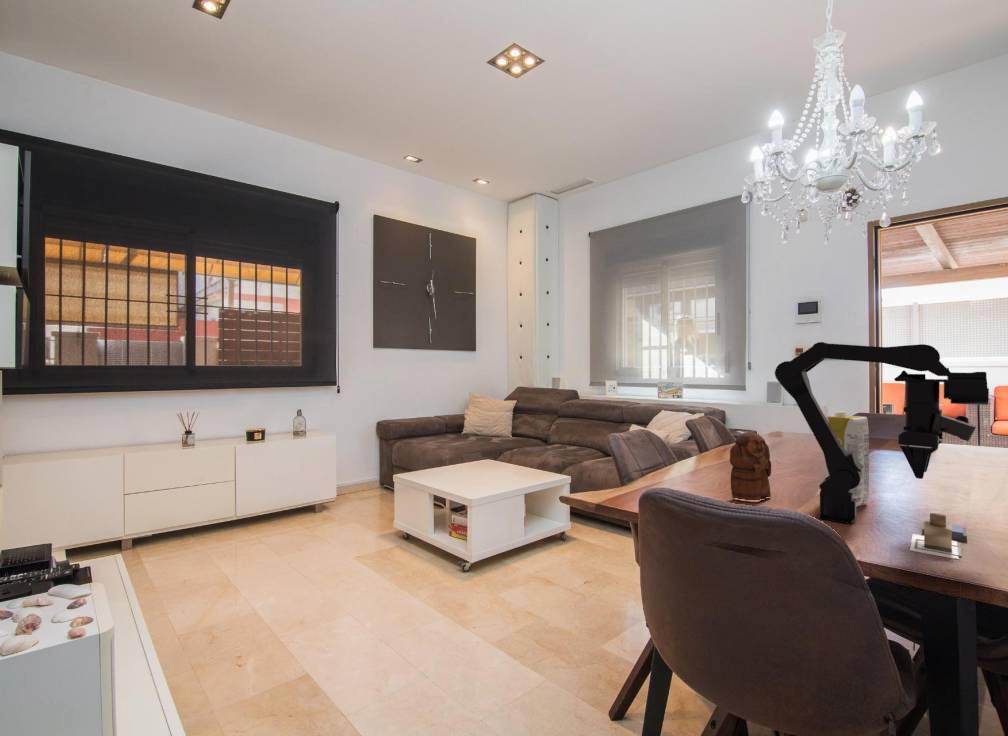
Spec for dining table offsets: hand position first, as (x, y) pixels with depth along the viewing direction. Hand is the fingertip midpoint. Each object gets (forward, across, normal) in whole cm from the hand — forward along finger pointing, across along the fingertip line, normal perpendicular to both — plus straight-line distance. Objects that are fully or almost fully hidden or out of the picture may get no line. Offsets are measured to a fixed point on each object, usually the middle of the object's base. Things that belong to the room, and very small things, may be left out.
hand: (921, 475), depth 108 cm
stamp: (+12, -10, -3) cm, 16 cm away
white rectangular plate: (+12, -9, -3) cm, 16 cm away
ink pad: (+12, +2, -4) cm, 13 cm away
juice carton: (+13, +16, +16) cm, 26 cm away
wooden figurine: (+13, +4, +36) cm, 38 cm away
